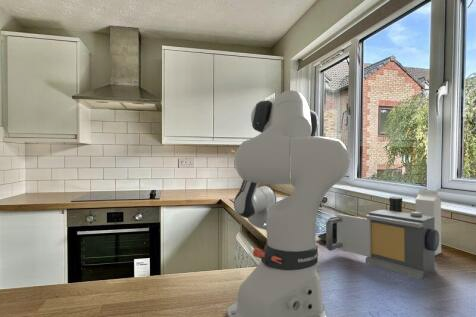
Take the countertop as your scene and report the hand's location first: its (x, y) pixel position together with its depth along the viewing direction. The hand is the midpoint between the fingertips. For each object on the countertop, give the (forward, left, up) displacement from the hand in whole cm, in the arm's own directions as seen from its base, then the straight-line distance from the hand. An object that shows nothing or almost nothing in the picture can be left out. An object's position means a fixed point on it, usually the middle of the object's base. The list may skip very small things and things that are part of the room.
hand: (305, 228), depth 108 cm
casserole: (+24, -2, -8) cm, 25 cm away
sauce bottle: (+22, -22, -8) cm, 32 cm away
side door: (+3, -15, -6) cm, 16 cm away
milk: (+33, -28, -8) cm, 44 cm away
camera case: (+11, -29, -8) cm, 32 cm away
